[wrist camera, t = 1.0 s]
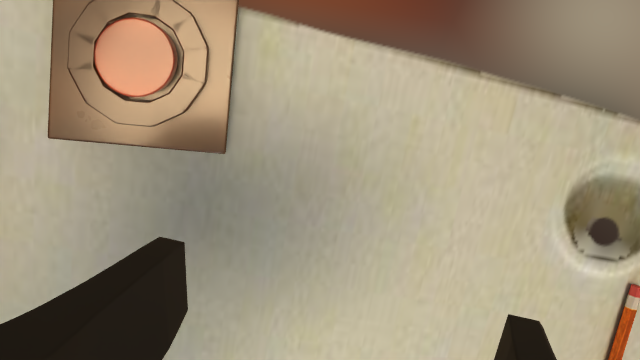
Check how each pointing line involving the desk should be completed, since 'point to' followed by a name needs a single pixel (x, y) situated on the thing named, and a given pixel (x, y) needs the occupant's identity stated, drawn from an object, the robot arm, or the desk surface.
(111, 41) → the button
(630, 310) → the pencil
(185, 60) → the button block
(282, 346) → the desk surface
